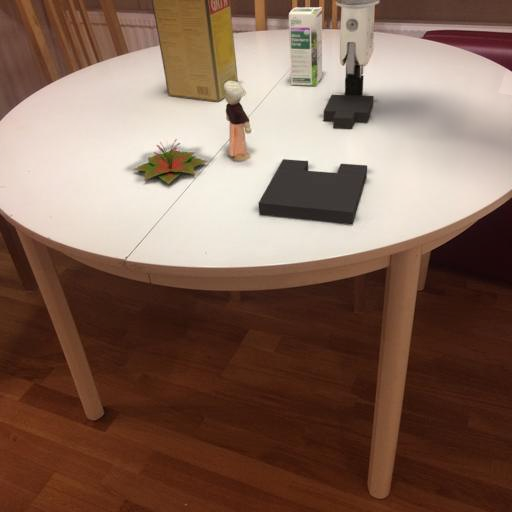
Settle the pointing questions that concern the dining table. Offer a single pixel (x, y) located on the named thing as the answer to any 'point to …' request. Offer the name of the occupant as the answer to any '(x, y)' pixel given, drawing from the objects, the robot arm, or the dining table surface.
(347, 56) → the robot arm
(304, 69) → the syrup box
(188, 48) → the food packaging
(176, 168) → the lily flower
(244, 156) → the grandmother figurine
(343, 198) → the base pad
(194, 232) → the dining table surface
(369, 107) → the small pad
